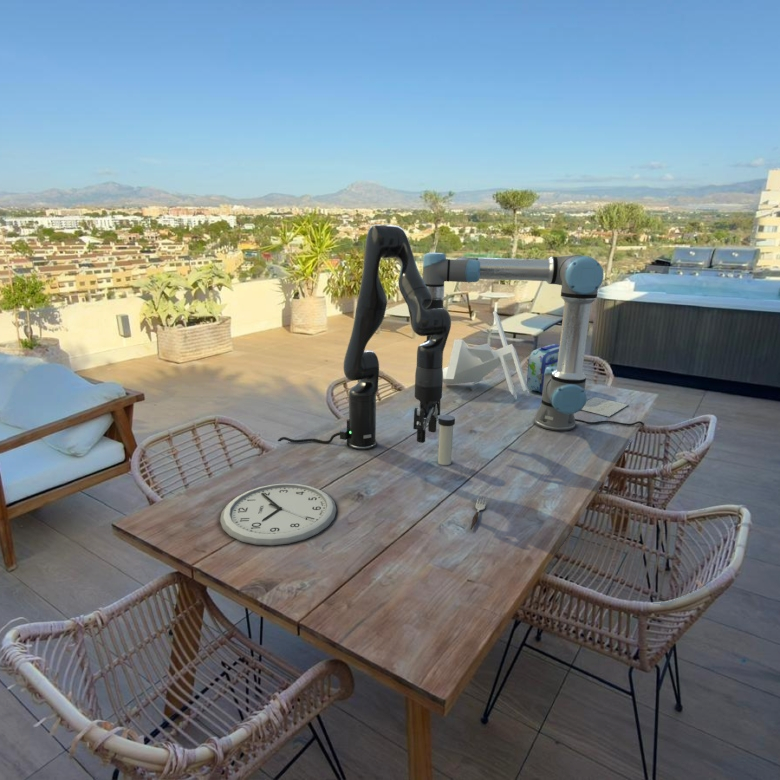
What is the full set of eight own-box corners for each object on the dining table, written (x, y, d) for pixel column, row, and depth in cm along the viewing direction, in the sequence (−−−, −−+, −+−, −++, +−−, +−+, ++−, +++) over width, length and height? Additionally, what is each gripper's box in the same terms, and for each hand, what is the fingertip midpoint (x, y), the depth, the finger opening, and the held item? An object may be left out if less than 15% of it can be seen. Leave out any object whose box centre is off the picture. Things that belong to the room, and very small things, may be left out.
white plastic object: (461, 429, 252) (437, 405, 227) (444, 352, 274) (420, 323, 250) (535, 404, 240) (518, 377, 215) (510, 326, 262) (492, 293, 237)
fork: (465, 530, 132) (466, 523, 131) (477, 500, 146) (478, 494, 146) (475, 532, 131) (476, 525, 130) (487, 502, 145) (487, 496, 145)
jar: (447, 458, 173) (449, 415, 168) (453, 464, 169) (455, 420, 164) (435, 460, 171) (437, 417, 167) (441, 466, 168) (443, 421, 163)
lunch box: (543, 396, 238) (548, 352, 231) (522, 391, 245) (526, 347, 239) (570, 385, 255) (575, 343, 249) (550, 381, 262) (555, 340, 256)
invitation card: (608, 416, 214) (573, 407, 224) (608, 416, 214) (573, 408, 224) (628, 404, 229) (594, 396, 238) (628, 405, 229) (594, 397, 238)
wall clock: (335, 537, 125) (206, 541, 122) (335, 543, 125) (207, 547, 123) (337, 479, 154) (232, 481, 151) (337, 484, 154) (233, 486, 151)
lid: (450, 419, 169) (450, 413, 169) (457, 425, 165) (458, 419, 164) (435, 421, 168) (435, 415, 167) (442, 427, 163) (443, 421, 162)
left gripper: (425, 373, 150) (423, 426, 155) (405, 386, 138) (404, 443, 143) (450, 377, 147) (447, 430, 152) (432, 390, 135) (429, 448, 140)
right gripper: (424, 293, 195) (422, 349, 202) (419, 302, 172) (417, 365, 178) (444, 294, 195) (441, 350, 201) (442, 303, 171) (439, 366, 177)
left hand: (426, 436), depth 148 cm, fingers open, 8 cm apart
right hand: (430, 357), depth 190 cm, fingers open, 13 cm apart
